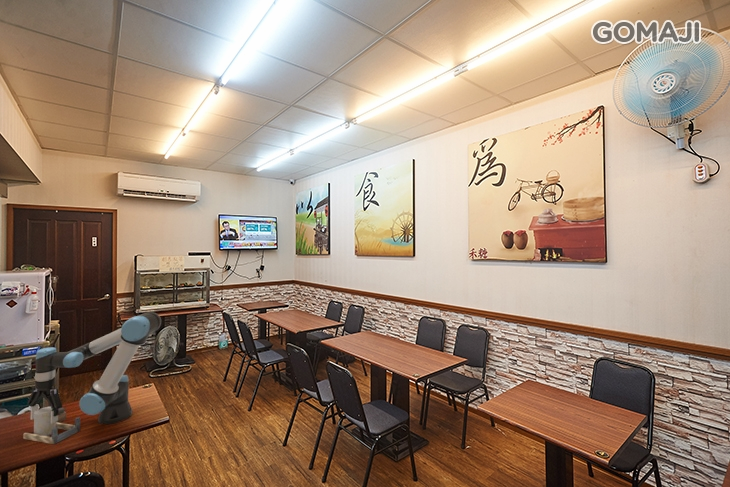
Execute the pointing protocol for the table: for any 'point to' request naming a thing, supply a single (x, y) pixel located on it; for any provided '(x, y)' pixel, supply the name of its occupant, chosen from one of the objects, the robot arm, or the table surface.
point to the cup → (43, 422)
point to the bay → (56, 433)
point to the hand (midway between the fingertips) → (44, 420)
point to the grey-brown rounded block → (61, 415)
